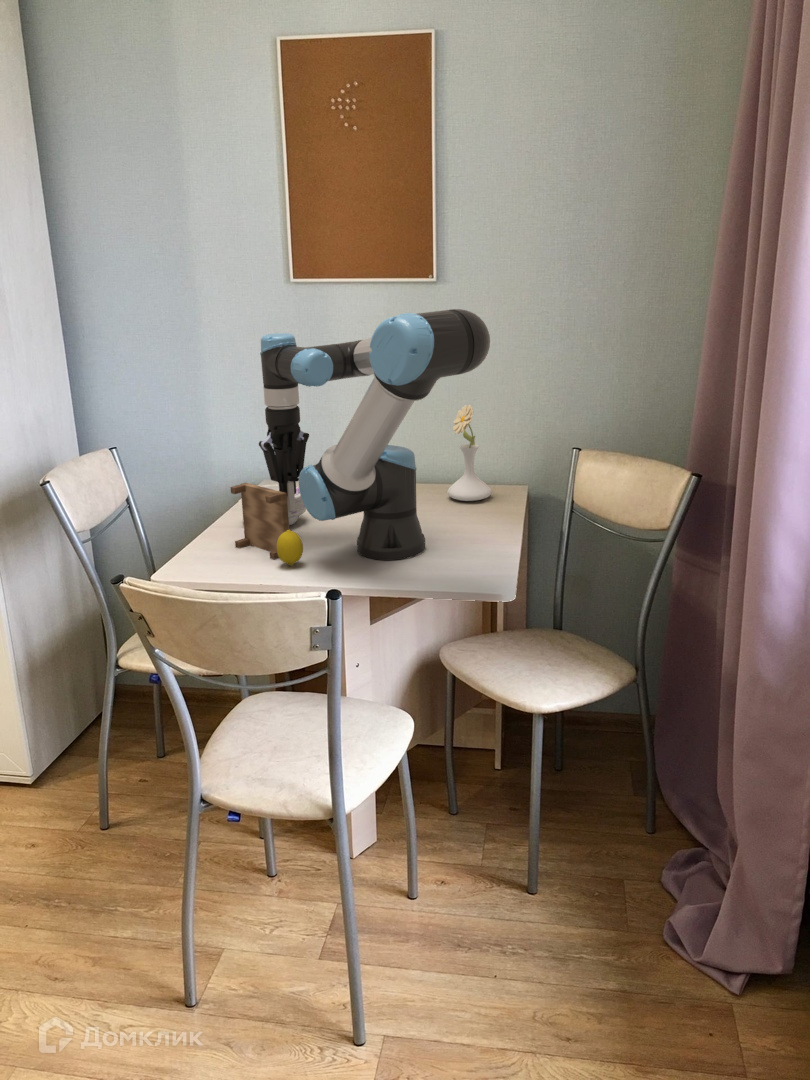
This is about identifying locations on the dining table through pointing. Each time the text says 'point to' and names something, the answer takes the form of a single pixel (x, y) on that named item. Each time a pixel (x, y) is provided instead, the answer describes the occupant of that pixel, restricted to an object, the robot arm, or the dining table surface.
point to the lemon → (289, 547)
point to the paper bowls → (298, 504)
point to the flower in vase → (468, 463)
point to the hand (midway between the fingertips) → (289, 509)
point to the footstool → (262, 516)
